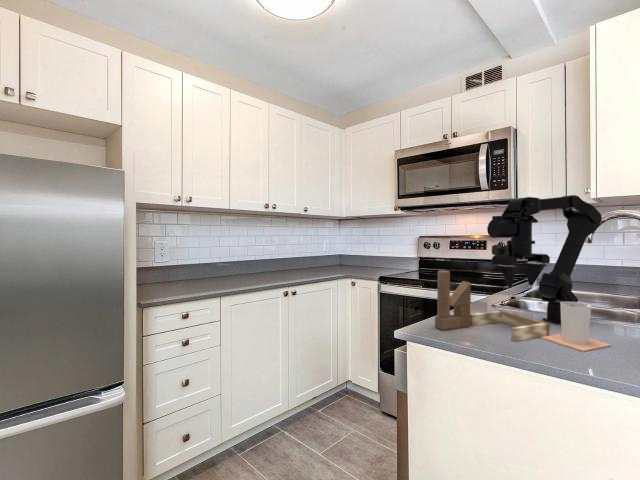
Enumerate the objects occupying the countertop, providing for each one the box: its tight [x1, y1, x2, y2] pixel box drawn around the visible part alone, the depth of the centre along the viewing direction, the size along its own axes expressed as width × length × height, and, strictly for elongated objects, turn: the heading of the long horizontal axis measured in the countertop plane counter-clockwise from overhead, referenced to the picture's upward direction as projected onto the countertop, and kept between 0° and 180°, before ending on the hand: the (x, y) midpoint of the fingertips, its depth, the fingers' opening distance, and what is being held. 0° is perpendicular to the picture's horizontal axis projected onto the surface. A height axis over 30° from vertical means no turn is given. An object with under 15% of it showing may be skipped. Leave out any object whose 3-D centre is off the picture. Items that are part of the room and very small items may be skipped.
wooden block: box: [434, 269, 472, 331], centre depth 105 cm, size 4×11×18 cm, turn 108°
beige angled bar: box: [470, 310, 550, 342], centre depth 102 cm, size 14×16×4 cm
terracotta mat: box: [540, 333, 612, 353], centre depth 91 cm, size 11×11×1 cm
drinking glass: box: [560, 301, 592, 344], centre depth 91 cm, size 7×7×10 cm
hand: (520, 286), depth 107 cm, fingers open, 9 cm apart
